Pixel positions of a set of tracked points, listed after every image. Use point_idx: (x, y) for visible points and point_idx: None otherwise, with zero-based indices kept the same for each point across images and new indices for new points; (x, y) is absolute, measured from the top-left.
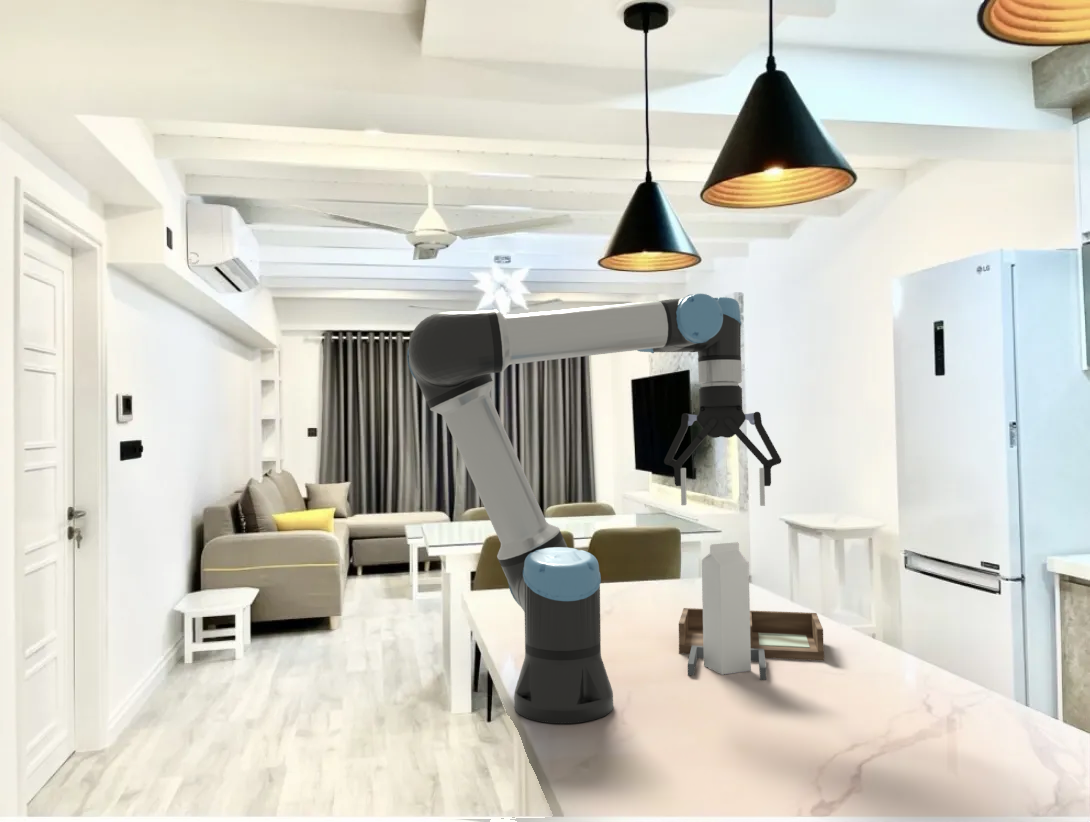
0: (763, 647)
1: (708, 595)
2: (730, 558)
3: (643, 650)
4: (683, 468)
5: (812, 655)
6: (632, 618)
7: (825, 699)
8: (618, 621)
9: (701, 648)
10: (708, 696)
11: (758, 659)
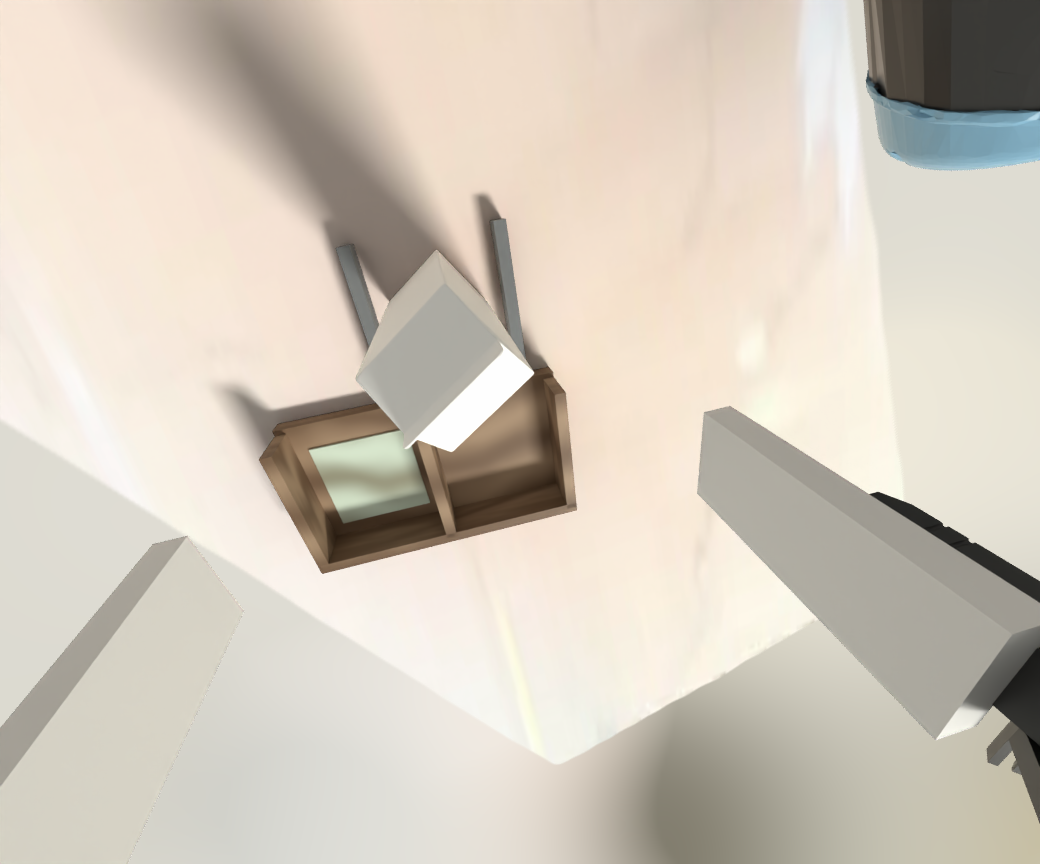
0: None
1: (489, 316)
2: (419, 356)
3: (614, 361)
4: (1001, 670)
5: (297, 423)
6: (658, 534)
7: (165, 136)
8: (678, 510)
9: None
10: (421, 61)
11: None
